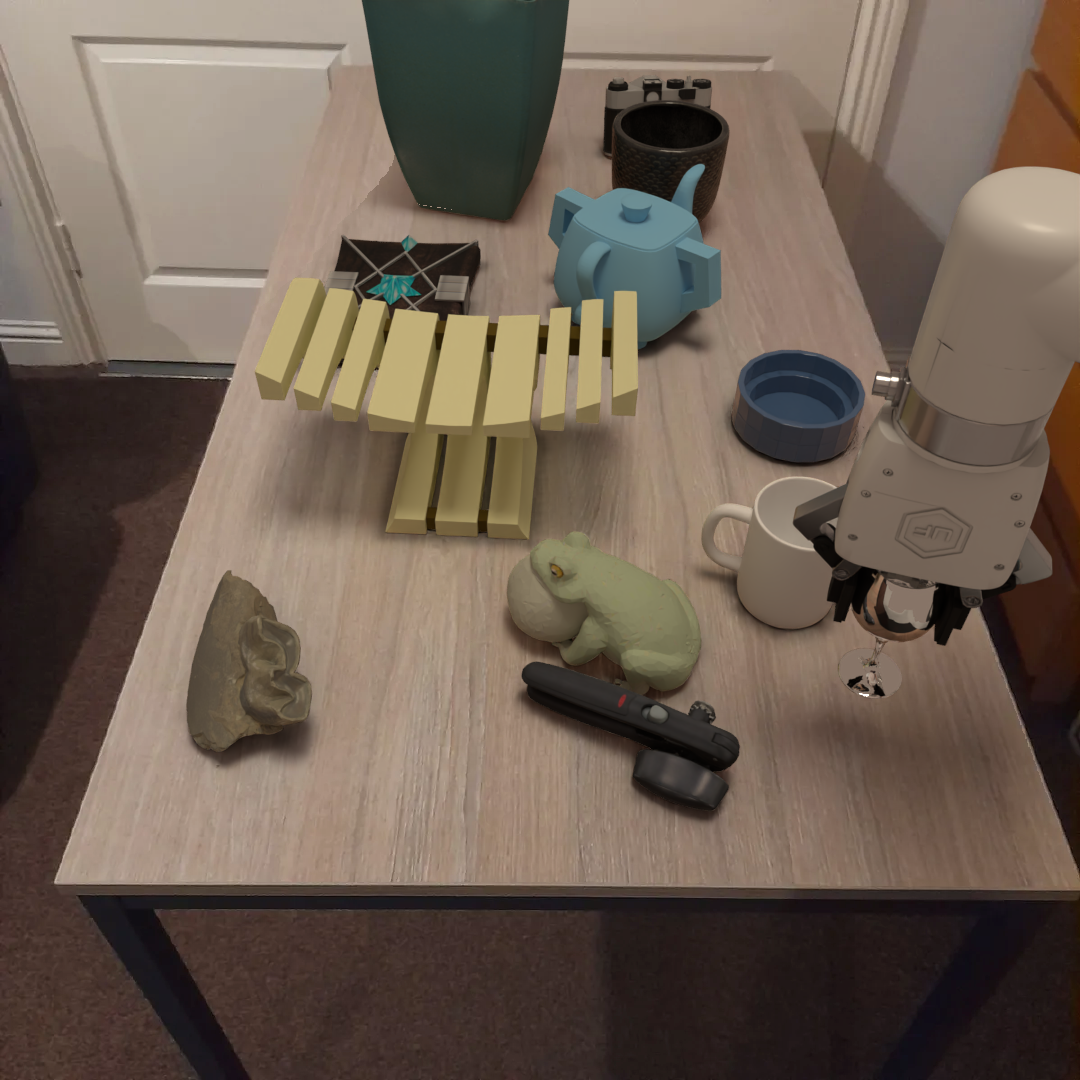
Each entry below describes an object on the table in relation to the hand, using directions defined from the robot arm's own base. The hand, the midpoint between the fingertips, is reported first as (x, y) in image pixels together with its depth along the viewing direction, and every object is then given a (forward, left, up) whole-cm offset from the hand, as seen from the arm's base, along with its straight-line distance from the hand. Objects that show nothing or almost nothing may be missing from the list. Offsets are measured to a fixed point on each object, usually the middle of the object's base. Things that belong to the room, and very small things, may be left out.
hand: (890, 615), depth 67 cm
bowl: (+9, -35, -14) cm, 39 cm away
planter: (+30, -70, -14) cm, 77 cm away
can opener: (+16, +6, -14) cm, 22 cm away
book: (+54, -41, -14) cm, 69 cm away
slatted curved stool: (+37, -18, -14) cm, 44 cm away
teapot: (+29, -50, -14) cm, 59 cm away
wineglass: (0, 0, -7) cm, 7 cm away
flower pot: (+55, -70, -14) cm, 90 cm away
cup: (+8, -12, -14) cm, 21 cm away
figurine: (+20, -3, -14) cm, 25 cm away
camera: (+36, -91, -14) cm, 99 cm away
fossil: (+42, +8, -11) cm, 44 cm away
